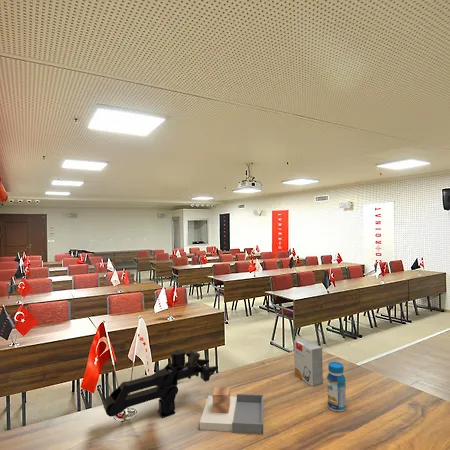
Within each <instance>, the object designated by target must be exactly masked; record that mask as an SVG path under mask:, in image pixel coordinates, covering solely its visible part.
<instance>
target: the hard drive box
mask: <svg viewBox="0 0 450 450" xmlns="http://www.w3.org/2000/svg"><path fill="white" fill-rule="evenodd" d="M293 349H294V350H293V351H294V352H293V354H294V359H293V360H294V376H296V377H297V378H298V379H300V380H302V381H303V382H305V383H306V384H308V385H310V386H311V387H315V386H320V385H323V384H324V380H323V379H324V378H323V377H324V376H323V375H324V374H323V371H324V370H323V347H322V346H320V345H318V344H316V343H314V342H312V341H310V340H308V339H305V338H300V339H296V340H293Z"/></svg>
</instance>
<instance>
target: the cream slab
mask: <svg viewBox="0 0 450 450" xmlns="http://www.w3.org/2000/svg"><path fill="white" fill-rule="evenodd" d="M212 395H213V394H212ZM212 395H211V394H210V395H208V396H207V399H206V401H205V405H204V408H203V411H202V414H201V417H200V420H199V430H201V431H202V430H203V431H205V430H206V431H219V432H221V431H224V432H232V422H234V418H235V411H236V405H237V395H236V396H233V395H230V408H229V413H213V397H212Z"/></svg>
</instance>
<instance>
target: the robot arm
mask: <svg viewBox="0 0 450 450" xmlns="http://www.w3.org/2000/svg"><path fill="white" fill-rule="evenodd" d="M186 357H187V362H186ZM200 358H201V354H200V353H199V352H198V351H194V350H190V351H187V352H186V351H185V350H184V349H175V350H174V351H173V352H171V353H170V362H168V363H167V364H166V365H165V367H163V368H162V369H159V370H157V371H155V372H154V373H153V374H151V375H147V376H144V377H139V378H136V379H132V380H131V379H130V380H129V381H122V382H121V383H120V384H119V386H118V387H116V388H115V389H114V390H113V391H112V392H111V394H110V395H109V396H107V397H106V398H105V399H104V401H103V403H102V404H103V408H104V411H105V413H106V415H107V416H109V417H115V416H117V415H120V414H121V413H123V412H124V411H125V410H126V409H127V408H130V407H133V406H137V405H141V404H143V403H147V402H150V401H153V400H157V399H158V409H157V412H158V414H159V415H160V417H161V418H166V417H169V416H171V415H175V414H176V411H175V410H176V404H175V403H176V402H175V399H176V396H177V395H178V392H179V387H178V381H181V380H184V379H189V380H191V379H192V377H197V378H198V377H200V379H201V380H202V381H203V382H209V381H210V378H211V376H212V375H213V374H214V373H215V372H216V371H217V370H218V369H219V366H217V365H214V366H208V364H209V362H210V359H206V358H205V359H204V358H203V359H202V358H201V359H200ZM199 374H200V375H199ZM148 388H149V389H148Z"/></svg>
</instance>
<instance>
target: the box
mask: <svg viewBox="0 0 450 450" xmlns="http://www.w3.org/2000/svg"><path fill="white" fill-rule="evenodd" d="M236 397H237V405H236V411H235V418H234V422H232V431H231V432H232V433H237V434H254V435H256V434H257V435H264V407H265V406H264V394H257V393H255V394H253V393H236Z"/></svg>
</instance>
